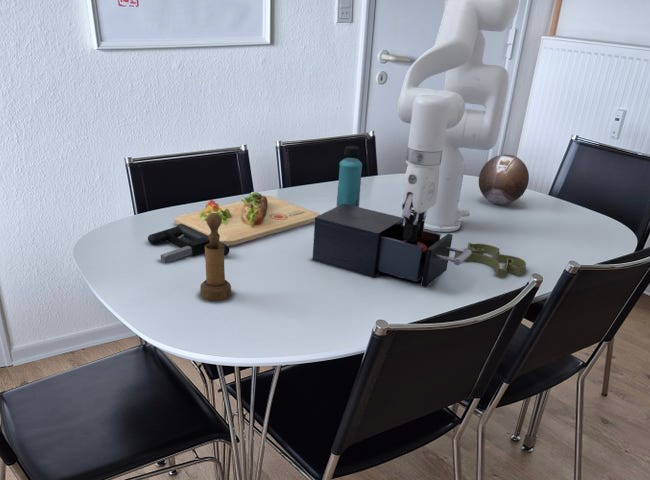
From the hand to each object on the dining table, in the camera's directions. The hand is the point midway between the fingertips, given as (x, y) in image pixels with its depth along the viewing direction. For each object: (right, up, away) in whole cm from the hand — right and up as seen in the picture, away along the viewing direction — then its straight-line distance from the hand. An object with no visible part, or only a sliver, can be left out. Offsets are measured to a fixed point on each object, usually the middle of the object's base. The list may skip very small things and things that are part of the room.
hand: (412, 237), depth 149 cm
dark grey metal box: (-12, -3, +11) cm, 17 cm away
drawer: (+2, -8, +3) cm, 9 cm away
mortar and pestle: (-44, -14, -10) cm, 47 cm away
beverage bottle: (-13, +13, +38) cm, 42 cm away
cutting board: (-40, +10, +31) cm, 51 cm away
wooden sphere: (+37, +22, +57) cm, 72 cm away
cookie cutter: (+22, -4, +14) cm, 26 cm away
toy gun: (-55, -1, +11) cm, 56 cm away
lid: (0, -2, +1) cm, 3 cm away
